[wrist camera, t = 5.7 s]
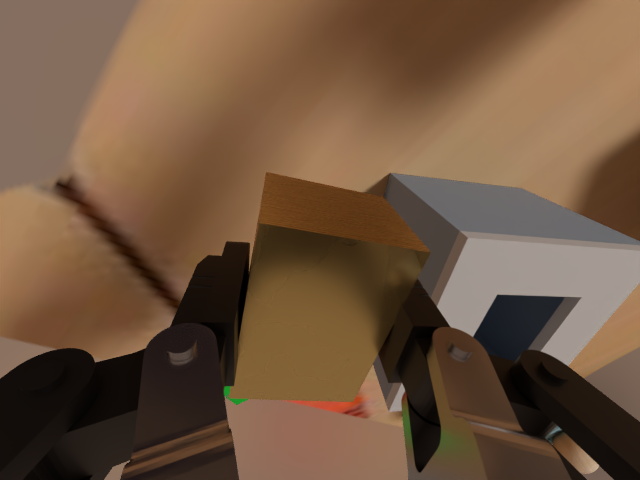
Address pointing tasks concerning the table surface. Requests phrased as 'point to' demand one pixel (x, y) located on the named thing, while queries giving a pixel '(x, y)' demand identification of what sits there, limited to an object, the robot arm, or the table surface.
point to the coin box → (512, 267)
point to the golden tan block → (321, 290)
